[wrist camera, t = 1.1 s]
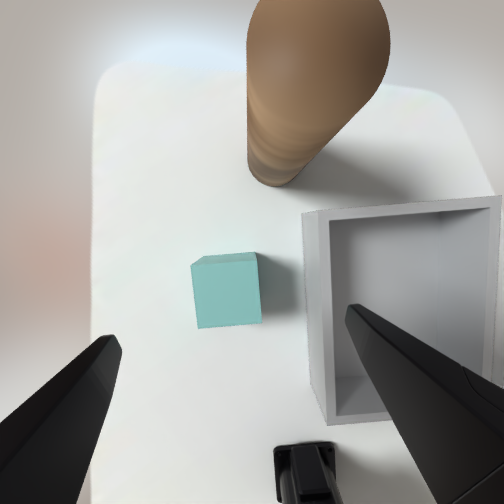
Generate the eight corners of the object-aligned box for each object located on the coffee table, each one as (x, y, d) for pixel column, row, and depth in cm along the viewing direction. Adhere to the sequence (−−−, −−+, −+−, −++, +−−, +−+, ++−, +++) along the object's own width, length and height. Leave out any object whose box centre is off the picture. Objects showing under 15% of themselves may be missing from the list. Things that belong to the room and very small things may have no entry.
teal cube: (258, 301, 22) (262, 323, 17) (208, 305, 22) (197, 328, 17) (254, 251, 22) (256, 259, 17) (203, 256, 22) (190, 265, 17)
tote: (438, 372, 24) (489, 411, 19) (310, 383, 23) (327, 425, 18) (442, 202, 21) (501, 195, 16) (301, 213, 21) (317, 210, 16)
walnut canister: (302, 184, 21) (390, 119, 8) (249, 188, 21) (252, 130, 8) (299, 127, 20) (390, -40, 7) (245, 132, 20) (240, -30, 7)
